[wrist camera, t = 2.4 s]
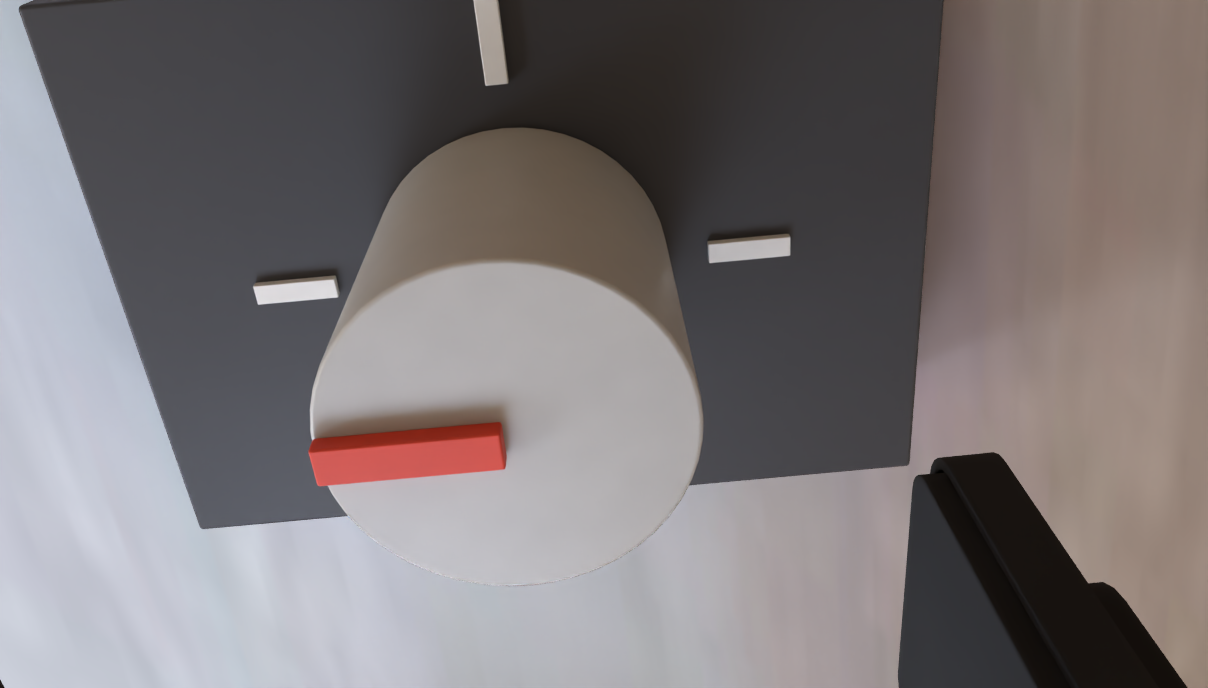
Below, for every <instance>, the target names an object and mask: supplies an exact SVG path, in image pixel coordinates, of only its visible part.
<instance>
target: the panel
mask: <svg viewBox="0 0 1208 688" xmlns="http://www.w3.org/2000/svg"><path fill="white" fill-rule="evenodd" d="M943 1H944V0H33V1H31V2H28V3H26V4H23V5H21V6H20V7H19V12H20V15H21V18H22V21H23V24H24V27H25V29H26V32H27V35H28V38H29V41H30V44H31V47H32V49H33V52H34V55H35V58H36V61H37V64H38V66H39V69H40V72H41V75H42V78H43V81H44V84H45V86H46V89H47V92H48V95H49V98H50V101H51V104H52V106H53V109H54V112H55V115H56V118H57V121H58V123H59V126H60V129H61V132H62V135H63V138H64V141H65V143H66V146H67V149H68V152H69V155H70V158H71V161H72V163H73V166H74V169H75V172H76V175H77V178H78V181H79V183H80V186H81V189H82V192H83V195H84V198H85V200H86V203H87V206H88V209H89V212H90V215H91V218H92V220H93V223H94V226H95V229H96V232H97V235H98V238H99V240H100V243H101V246H102V249H103V252H104V255H105V258H106V260H107V263H108V266H109V269H110V272H111V275H112V277H113V280H114V283H115V286H116V289H117V292H118V295H119V297H120V300H121V303H122V306H123V309H124V312H125V315H126V317H127V320H128V323H129V326H130V329H131V332H132V334H133V337H134V340H135V343H136V346H137V349H138V352H139V354H140V357H141V360H142V363H143V366H144V369H145V372H146V374H147V377H148V380H149V383H150V386H151V389H152V392H153V394H154V397H155V400H156V403H157V406H158V409H159V411H160V414H161V417H162V420H163V423H164V426H165V429H166V431H167V434H168V437H169V440H170V443H171V446H172V449H173V451H174V454H175V457H176V460H177V463H178V466H179V469H180V471H181V474H182V477H183V480H184V483H185V486H186V488H187V491H188V494H189V497H190V500H191V503H192V506H193V508H194V511H195V514H196V517H197V520H198V523H199V526H200V528H202V529H208V528H220V527H231V526H242V525H253V524H264V523H275V522H286V521H297V520H308V519H319V518H331V517H342V516H348V515H347V514H346V513H345V512H344V510H343V509H342V507H341V506H340V505H339V503H338V502H337V500H336V499H335V498H334V496H333V495H332V493H331V491H330V489H329V487H328V486H318V485H317V482H316V478H315V475H314V471H313V467H312V464H311V460H310V456H309V453H308V451H309V448H310V446H311V443H312V438H311V432H310V404H311V396H312V389H313V385H314V382H315V378H316V375H317V372H318V368H319V365H320V363H321V361H322V358H323V356H324V353H325V351H326V349H327V346H328V344H329V341H330V339H331V337H332V334H333V332H334V330H335V327H336V325H337V322H338V320H339V318H340V315H341V313H342V310H343V308H344V306H345V303H346V301H347V298H348V296H349V294H350V291H351V289H352V286H353V284H354V282H355V279H356V277H357V275H358V272H359V270H360V267H361V265H362V263H363V260H364V258H365V255H366V253H367V251H368V248H369V246H370V243H371V241H372V239H373V236H374V234H375V232H376V229H377V227H378V224H379V222H380V220H381V217H382V215H383V213H384V211H385V208H386V206H387V204H388V202H389V200H390V198H391V196H392V195H393V193H394V192H395V190H396V189H397V187H398V186H399V184H400V183H401V182H402V180H403V179H404V178H405V177H406V176H407V175H408V174H409V173H410V172H411V170H412V169H413V168H414V167H416V166H417V165H418V164H419V163H420V162H422V161H423V160H424V159H425V158H426V157H428V156H429V155H430V154H432V153H434V152H435V151H437V150H438V149H440V148H442V147H443V146H445V145H447V144H449V143H451V142H454V141H456V140H458V139H460V138H463V137H466V136H469V135H472V134H476V133H479V132H482V131H488V130H495V129H501V128H533V129H543V130H548V131H552V132H557V133H561V134H565V135H568V136H570V137H573V138H576V139H578V140H581V141H584V142H585V143H587V144H589V145H591V146H593V147H595V148H597V149H599V150H601V151H602V152H604V153H605V154H606V155H608V156H609V157H611V158H612V159H614V160H615V161H616V162H618V163H619V164H620V165H621V166H622V167H623V168H624V169H625V170H626V171H627V172H629V173H630V174H631V175H632V177H633V178H634V179H635V180H636V181H637V183H638V184H639V185H640V186H641V187H642V189H643V190H644V191H645V193H646V195H647V196H648V198H649V200H650V201H651V203H652V204H653V206H654V209H655V211H656V213H657V215H658V218H659V220H660V222H661V226H662V229H663V233H664V236H665V240H666V244H667V249H668V253H669V258H670V262H671V266H672V271H673V275H674V280H675V284H676V289H677V293H678V297H679V302H680V306H681V311H682V315H683V319H684V324H685V328H686V333H687V337H688V342H689V346H690V350H691V355H692V359H693V364H694V368H695V372H696V377H697V381H698V386H699V390H700V395H701V401H702V409H703V418H704V419H703V441H702V446H701V451H700V456H699V461H698V464H697V466H696V469H695V472H694V475H693V478H692V480H691V482H690V484H689V485H697V484H708V483H719V482H730V481H741V480H752V479H764V478H775V477H786V476H797V475H808V474H819V473H830V472H841V471H852V470H863V469H875V468H886V467H897V466H907V465H908V464H909V461H910V448H911V434H912V421H913V407H914V394H915V380H916V366H917V353H918V339H919V326H920V312H921V299H922V285H923V272H924V258H925V245H926V231H927V218H928V204H929V190H930V177H931V163H932V150H933V136H934V123H935V109H936V96H937V82H938V69H939V55H940V42H941V28H942V14H943Z"/></svg>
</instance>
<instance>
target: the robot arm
mask: <svg viewBox="0 0 1208 688" xmlns="http://www.w3.org/2000/svg"><path fill="white" fill-rule="evenodd" d="M898 682H899V688H1187V686H1186V685H1185V684H1184V682H1183V681H1182V679H1181V678H1180V677H1179V675H1178V674H1177V672H1176V671H1175V670H1174V668H1173V667H1172V665H1171V664H1170V663H1169V661H1168V660H1167V658H1166V657H1165V656H1164V654H1163V653H1162V651H1161V650H1160V648H1159V647H1158V646H1157V644H1156V643H1155V641H1154V640H1153V639H1152V637H1151V636H1150V634H1149V633H1148V632H1147V630H1146V629H1145V627H1144V626H1143V625H1142V623H1141V622H1140V620H1139V619H1138V618H1137V616H1136V615H1135V613H1134V612H1133V611H1132V609H1131V608H1130V606H1129V605H1128V604H1127V602H1126V601H1125V600H1124V598H1123V597H1122V596H1121V595H1120V594H1119V593H1118V592H1117V591H1116V590H1115V588H1113V587H1111V586H1109V585H1108V584H1106V583H1104V582H1099V583H1089V584H1088V583H1087V581H1086V580H1085V578H1084V577H1083V575H1082V574H1081V572H1080V571H1079V569H1078V568H1077V566H1076V565H1075V563H1074V562H1073V561H1072V559H1071V558H1070V556H1069V555H1068V553H1067V552H1066V550H1065V549H1064V547H1063V546H1062V544H1061V543H1060V541H1059V540H1058V538H1057V537H1056V536H1055V534H1054V533H1053V531H1052V530H1051V528H1050V527H1049V525H1048V524H1047V522H1046V521H1045V519H1044V518H1043V516H1042V515H1041V513H1040V512H1039V511H1038V509H1037V508H1036V506H1035V505H1034V503H1033V502H1032V500H1031V499H1030V497H1029V496H1028V494H1027V493H1026V491H1025V490H1024V488H1023V487H1022V485H1021V484H1020V483H1019V481H1018V480H1017V478H1016V477H1015V475H1014V474H1013V472H1012V471H1011V469H1010V468H1009V466H1008V465H1007V463H1006V462H1005V461H1004V459H1003V458H1002V457H1001V456H1000V455H999V454H996V453H994V452H993V453H983V454H972V455H962V456H952V457H942V458H937V459H936V460H934V462H933V464H932V466H931V472H930V474H925V475H918V476H916V477H915V479H914V482H913V489H912V502H911V514H910V527H909V540H908V553H907V565H906V578H905V591H904V603H903V616H902V629H901V642H900V654H899V667H898ZM0 688H4V686H3V684H2V682H1V680H0Z"/></svg>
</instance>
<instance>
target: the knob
mask: <svg viewBox="0 0 1208 688" xmlns="http://www.w3.org/2000/svg"><path fill="white" fill-rule="evenodd" d="M703 419H704V418H703V409H702V401H701V395H700V390H699V386H698V381H697V377H696V372H695V368H694V364H693V359H692V355H691V350H690V346H689V342H688V337H687V333H686V328H685V324H684V319H683V315H682V311H681V306H680V302H679V297H678V293H677V289H676V284H675V280H674V275H673V271H672V266H671V262H670V258H669V253H668V249H667V244H666V240H665V236H664V233H663V229H662V226H661V222H660V220H659V218H658V215H657V213H656V211H655V209H654V206H653V204H652V203H651V201H650V200H649V198H648V196H647V195H646V193H645V191H644V190H643V189H642V187H641V186H640V185H639V184H638V183H637V181H636V180H635V179H634V178H633V177H632V175H631V174H630V173H629V172H627V171H626V170H625V169H624V168H623V167H622V166H621V165H620V164H619V163H618V162H616V161H615V160H614V159H612V158H611V157H609V156H608V155H606V154H605V153H604V152H602V151H601V150H599V149H597V148H595V147H593V146H591V145H589V144H587V143H585V142H584V141H581V140H578V139H576V138H573V137H570V136H568V135H565V134H561V133H557V132H552V131H548V130H543V129H533V128H501V129H495V130H488V131H482V132H479V133H476V134H472V135H469V136H466V137H463V138H460V139H458V140H456V141H454V142H451V143H449V144H447V145H445V146H443V147H442V148H440V149H438V150H437V151H435V152H434V153H432V154H430V155H429V156H428V157H426V158H425V159H424V160H423V161H422V162H420V163H419V164H418V165H417V166H416V167H414V168H413V169H412V170H411V172H410V173H409V174H408V175H407V176H406V177H405V178H404V179H403V180H402V182H401V183H400V184H399V186H398V187H397V189H396V190H395V192H394V193H393V195H392V196H391V198H390V200H389V202H388V204H387V206H386V208H385V211H384V213H383V215H382V217H381V220H380V222H379V224H378V227H377V229H376V232H375V234H374V236H373V239H372V241H371V243H370V246H369V248H368V251H367V253H366V255H365V258H364V260H363V263H362V265H361V267H360V270H359V272H358V275H357V277H356V279H355V282H354V284H353V286H352V289H351V291H350V294H349V296H348V298H347V301H346V303H345V306H344V308H343V310H342V313H341V315H340V318H339V320H338V322H337V325H336V327H335V330H334V332H333V334H332V337H331V339H330V341H329V344H328V346H327V349H326V351H325V353H324V356H323V358H322V361H321V363H320V365H319V368H318V372H317V375H316V378H315V382H314V385H313V389H312V396H311V404H310V432H311V438H312V443H311V446H310V448H309V451H308V453H309V456H310V460H311V464H312V467H313V471H314V475H315V478H316V482H317V485H318V486H328V487H329V489H330V491H331V493H332V495H333V496H334V498H335V499H336V500H337V502H338V503H339V505H340V506H341V507H342V509H343V510H344V512H345V513H346V514H347V515H348V516H349V517H350V518H351V519H352V520H353V522H354V523H355V524H356V525H357V526H358V527H359V528H360V529H361V530H362V531H363V532H365V533H366V534H367V535H368V536H369V537H371V538H372V539H373V540H374V541H375V542H376V543H378V544H379V545H381V546H382V547H384V548H385V549H387V550H388V551H390V552H391V553H393V554H394V555H396V556H398V557H400V558H402V559H404V560H405V561H407V562H409V563H411V564H413V565H415V566H417V567H420V568H422V569H425V570H428V571H430V572H433V573H436V574H438V575H442V576H445V577H449V578H453V579H457V580H460V581H466V582H472V583H478V584H484V585H500V586H522V585H536V584H543V583H550V582H556V581H560V580H564V579H568V578H572V577H576V576H579V575H582V574H585V573H588V572H590V571H593V570H596V569H599V568H601V567H603V566H605V565H607V564H609V563H611V562H613V561H615V560H617V559H619V558H620V557H622V556H624V555H625V554H627V553H628V552H630V551H631V550H633V549H634V548H636V547H637V546H639V545H640V544H641V543H642V542H644V541H645V540H646V539H647V538H648V537H650V536H651V535H652V534H653V533H654V532H655V531H656V530H657V529H658V528H659V527H660V526H661V525H662V524H663V523H664V522H665V521H666V520H667V519H668V517H669V516H670V515H671V513H672V512H673V511H674V509H675V508H676V506H677V505H678V504H679V502H680V501H681V499H682V497H683V496H684V494H685V492H686V490H687V488H688V486H689V484H690V482H691V480H692V478H693V475H694V472H695V469H696V466H697V464H698V461H699V456H700V451H701V446H702V441H703Z"/></svg>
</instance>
